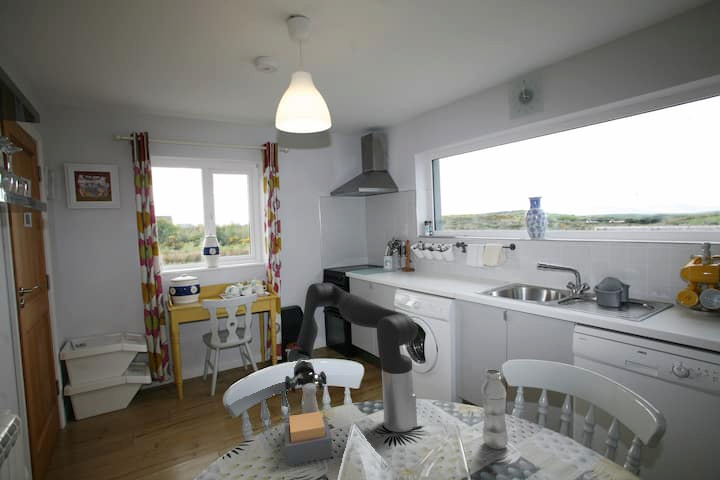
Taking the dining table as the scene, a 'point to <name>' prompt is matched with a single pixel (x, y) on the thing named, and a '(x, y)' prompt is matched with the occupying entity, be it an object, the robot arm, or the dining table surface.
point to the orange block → (306, 426)
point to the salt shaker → (309, 398)
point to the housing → (308, 447)
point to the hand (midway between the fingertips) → (307, 388)
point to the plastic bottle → (494, 411)
